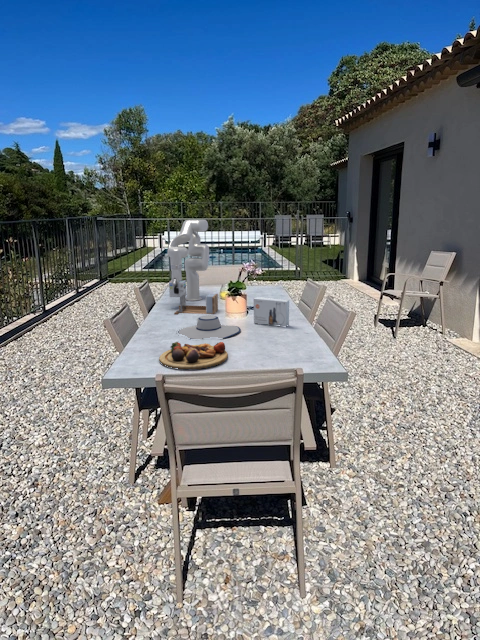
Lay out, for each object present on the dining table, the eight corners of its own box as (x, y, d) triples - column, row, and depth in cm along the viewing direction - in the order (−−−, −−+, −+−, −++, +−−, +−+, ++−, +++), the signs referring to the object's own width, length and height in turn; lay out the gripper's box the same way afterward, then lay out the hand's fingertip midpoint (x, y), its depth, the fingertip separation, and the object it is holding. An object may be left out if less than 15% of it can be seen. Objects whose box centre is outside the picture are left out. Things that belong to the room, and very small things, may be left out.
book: (209, 309, 303) (208, 294, 300) (215, 310, 302) (215, 294, 299) (206, 313, 294) (205, 296, 291) (213, 313, 293) (212, 296, 290)
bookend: (180, 309, 305) (180, 294, 302) (185, 309, 304) (185, 294, 302) (176, 312, 296) (176, 297, 294) (182, 312, 296) (181, 297, 293)
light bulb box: (186, 295, 314) (185, 279, 311) (184, 297, 308) (183, 282, 305) (171, 295, 315) (170, 279, 312) (169, 297, 309) (168, 282, 306)
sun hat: (250, 327, 265) (250, 312, 262) (224, 345, 233) (224, 328, 230) (195, 321, 278) (195, 307, 276) (164, 337, 246) (163, 321, 244)
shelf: (179, 310, 307) (178, 293, 304) (218, 311, 303) (217, 293, 300) (174, 314, 295) (173, 296, 292) (214, 315, 291) (213, 297, 288)
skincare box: (253, 324, 270) (253, 298, 266) (256, 322, 274) (256, 296, 270) (286, 328, 261) (286, 301, 257) (289, 325, 265) (289, 299, 261)
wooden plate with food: (230, 348, 225) (229, 332, 223) (225, 370, 194) (225, 352, 192) (166, 349, 226) (165, 334, 224) (152, 372, 195) (151, 353, 193)
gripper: (174, 264, 314) (176, 289, 320) (167, 269, 298) (169, 295, 303) (185, 264, 313) (186, 289, 318) (178, 269, 297) (179, 295, 302)
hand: (178, 292), depth 311 cm, fingers closed on light bulb box, 6 cm apart
